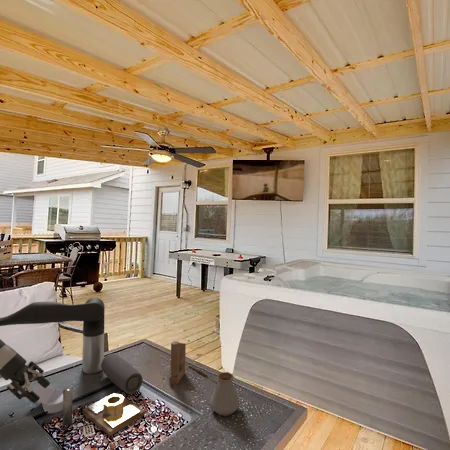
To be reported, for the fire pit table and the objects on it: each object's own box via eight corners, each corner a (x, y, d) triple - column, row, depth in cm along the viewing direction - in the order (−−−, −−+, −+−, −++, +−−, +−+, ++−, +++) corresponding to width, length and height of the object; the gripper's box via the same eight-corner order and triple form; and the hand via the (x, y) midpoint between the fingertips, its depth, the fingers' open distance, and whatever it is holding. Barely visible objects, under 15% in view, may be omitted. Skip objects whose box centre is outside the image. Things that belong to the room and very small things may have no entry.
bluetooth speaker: (144, 391, 128) (144, 368, 128) (122, 401, 122) (123, 376, 121) (119, 370, 145) (119, 349, 144) (99, 377, 138) (99, 355, 138)
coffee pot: (241, 402, 123) (243, 365, 122) (236, 421, 112) (237, 381, 111) (191, 393, 128) (192, 358, 127) (181, 411, 117) (181, 372, 116)
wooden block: (185, 373, 144) (186, 335, 143) (176, 385, 133) (177, 345, 133) (177, 372, 145) (178, 334, 144) (168, 384, 134) (169, 344, 133)
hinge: (87, 408, 115) (87, 397, 114) (114, 394, 123) (114, 384, 123) (113, 428, 104) (113, 417, 104) (140, 412, 113) (140, 402, 113)
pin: (61, 423, 108) (61, 390, 108) (69, 419, 111) (70, 386, 110) (65, 427, 106) (65, 393, 106) (73, 422, 109) (74, 389, 108)
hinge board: (82, 413, 114) (82, 409, 114) (116, 396, 125) (116, 392, 125) (109, 436, 103) (109, 431, 103) (144, 415, 114) (144, 411, 114)
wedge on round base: (28, 408, 116) (55, 415, 112) (28, 390, 116) (55, 397, 112) (48, 394, 125) (74, 401, 121) (48, 378, 124) (74, 384, 121)
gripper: (8, 359, 110) (43, 389, 112) (-16, 381, 96) (24, 414, 98) (25, 344, 111) (59, 374, 113) (3, 364, 97) (42, 397, 99)
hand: (42, 393), depth 106 cm, fingers open, 8 cm apart
